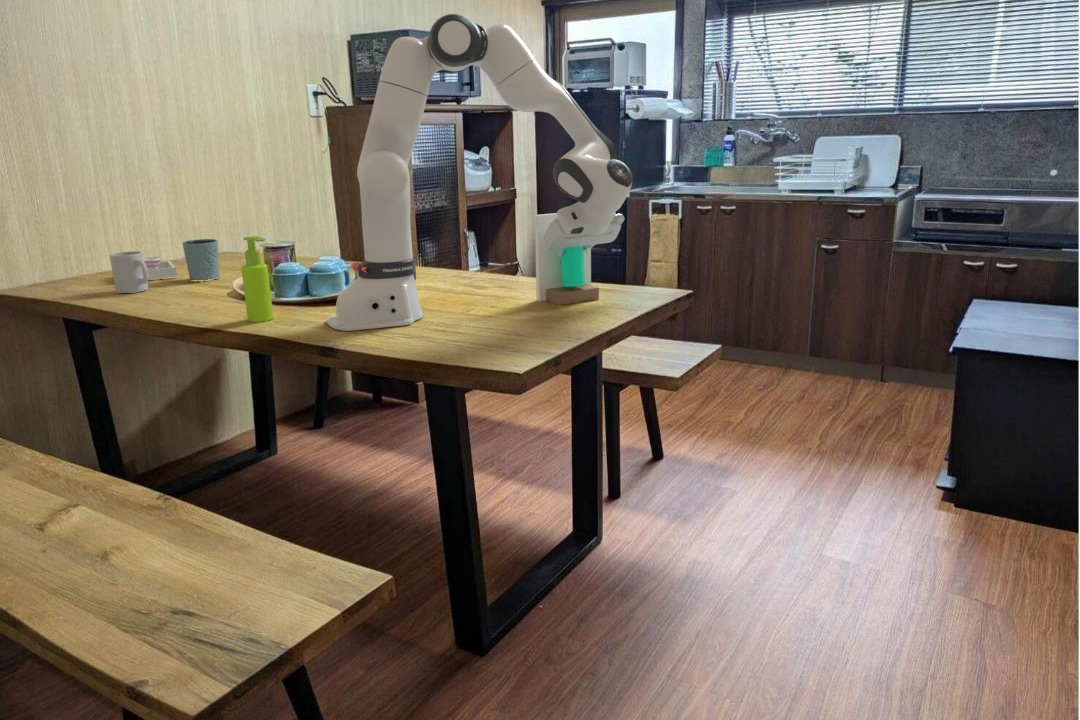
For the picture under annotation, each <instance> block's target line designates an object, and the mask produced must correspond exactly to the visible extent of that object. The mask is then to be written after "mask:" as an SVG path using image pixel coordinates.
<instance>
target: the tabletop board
mask: <svg viewBox="0 0 1080 720" xmlns="http://www.w3.org/2000/svg"><path fill="white" fill-rule="evenodd" d="M556 214H557V212H555V213H553V212H552V213H545V214H543V213H542V214H534V241H535V242H534V243H535V246H534V247H535V249H534V250H535V284H536V285H535V287H536V289H535V290H536V291H535V292H536V294H535V295H536V301H537V302H549V303H553V304H556V305H558V306H562V305H568V304H569V305H570V304H576V303H582V302H588V301H589V302H590V301H595V300H600V288H599V287H597V286H595V285H592V248H590V249H588V251H587V253H583V256H584V271H585V285H581V286H567V287H566V286H563V283H562V269H561V256H559V255H558V253H557V250H558V249H549V248H548V247H547V246H546V244H545V242H544V239H543V236H544V234H545V232H546V230H547V228H548V227H549V225H550V223H551V222H552V221H553V220H554V219H555V218H557V215H556Z"/></svg>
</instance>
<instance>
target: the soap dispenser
mask: <svg viewBox="0 0 1080 720" xmlns="http://www.w3.org/2000/svg"><path fill="white" fill-rule="evenodd" d="M243 241H246V242H247V243H246V244H247V249H246V250H245V251H244V258H245V264H244V265H241V267H240V269H241V271H240V272H241V278H242V284H243V292H244V300H245V308H246V316H247V317H246V318H247V320H248V321H247V322H249V321H250V322H249V323H263V322H262V321H266V322H269V321H268V320H270V321H272V320H271V319H273V318H274V311H273V302H272V293H271V286H270V276H269V269H268V265H267V264H265V263H262V258H261V257H262V256H261V251H260V250H259V249H257V247H256V242H257V243H258V242H265V241H266V239H265V238H264V237H261V236H256V235H253V236H247V237H246V236H245V237H243ZM273 320H274V319H273Z"/></svg>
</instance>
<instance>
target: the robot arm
mask: <svg viewBox="0 0 1080 720" xmlns="http://www.w3.org/2000/svg"><path fill="white" fill-rule="evenodd" d="M470 66H475V67H477V68H478V69H481V70H482V72H484V73H485V75H487V77H488V78H489V80H490V82H491V83H492V85H493V87H494V88H495V90H496V92H498V94H499V97H500V98H501V99H502V100H503V101H504V102H505V104H506V105H507V106H508V107H510V108H511V109H512V110H515V111H517V112H522V113H534V112H542V113H546V114H550V115H551V116H552V117H554V118H555V119H556V120H557V121H558V123H559V124H560V125H561V126H562V127H563V128H564V130H565V131H566V133H567V134H568V135H569V136H570V138H571V139H572V140H573V142H574V147H573V148H571V150H569V151H568V152H566V153H565V154H564V155H563V156H561V158H559V159H558V160H557V161H556V162H555V163H554V166H553V171H552V174H553V179H554V182H555V184H556V186H557V187H558V189H559V190H560V191H562V192H563V193H564V194H565V195H567V196H569V197H570V198H572V199H573V200H575V201H577V202H576V203H573V204H571V205H568V206H566V207H563V208H562V207H561V208H560V209H558V210H557V212H556V213H557V214H556V215H557V218H555V219H554V220H553V221H552V222H551V223H550V225H549V227H548V228H547V230H546V232H545V234H544V236H543V239H544V242H545V244H546V246H547V247H548V248H549V249H558V250H557V253H558V255H559V256H563V254H564V253H565V251H564V249H565V248H567V247H576V246H583V253H587V251H588V249H590V248H591V249H592V248H593V247H594V246H596V245H601V244H609V243H612V242H614V241H615V240H616V239H617V237H618V235H619V233H620V231H621V228H622V224H623V222H624V221H625V216H624V215H623V214H622V213H616V212H617V211H618V210H620V208H622V205H624V203H625V201H626V199H627V197H628V195H629V193H630V191H631V188H632V185H633V174H632V172H631V170H630V168H629V167H628V165H626V163H624V162H623V161H621V160H619V159H618V155H617V154H618V153H617V151H616V148H615V145H614V143H613V142H612V141H611V140H610V138H608V136H606V135H605V134H604V133H603V132H602V131H601V130H599V129H598V127H596V125H595V124H594V123H593V122H592V121H591V119H590V118H589V117H588V115H587V114H586V113H585V111H584V110H583V109H582V108H581V106H580V105H579V104H578V102H577V101H576V100H575V99H574V97H573V96H572V95H571V94H570V92H568V90H567V88H565V87H564V86H563V85H562V84H561V83H560V82H559V81H557V80H555V79H553V78H552V77H551V76H549V74H548V73H547V72H546V71H545V70H544V69H543V68H542V66H541V65H540V63H539V62H538V60H537V59H536V57H535V56H534V54H533V53H532V51H531V50H530V48H529V47H528V46H527V44H526V43H525V42H524V41H523V39H522V38H521V37H520V36H519V35H518V33H517V32H515V30H514V29H513V28H512V27H511V26H510V25H508V24H505V23H497V24H493V25H491V26H488V27H487V28H486V29H485V27H484V26H482V25H480V24H479V23H477V22H474V21H472V20H471V19H469V18H468V17H465V16H463V15H461V14H457V13H449V14H446V15H445V14H444V15H443V16H442V15H441V16H440V17H439V18H437V20H436V21H435V22H434V23H433V25H432V26H431V28H430V31H429V34H428V35H427V36H426V37H424V38H417V37H413V36H401V37H398V38H396V39H395V40H394V41H393V43H392V44H391V46H390V48H389V50H388V53H387V55H386V57H385V60H384V63H383V66H382V68H381V73H380V76H379V80H378V84H377V88H376V93H375V96H374V101H373V104H372V109H371V114H370V118H369V121H368V125H367V129H366V132H365V137H364V141H363V144H362V149H361V153H360V155H359V160H358V164H357V169H356V176H357V180H358V183H359V192H360V207H361V208H360V209H361V227H362V238H363V239H362V240H363V249H364V260H363V261H362V262H357V261H353V262H352V263H351V264H350V268H351V269H352V270H353V271H355V272H357V274H358V277H357V278H356V279H355V280H354V281H353V282H352V283H351V284H349V286H347V287H346V288H345V289H344V290H343V291H342V292H341V293H339V294H338V296H337V298H336V305H335V315H334V314H333V315H329V316H328V317H327V319H326V323H327V325H328V326H329V327H330V328H332V329H334V330H339V331H344V332H350V331H360V330H370V329H381V328H391V327H400V326H409V325H412V324H413V323H414V322H415V321H418V320H420V319H422V318H423V317H424V313H423V310H422V307H421V304H420V300H419V296H418V291H417V285H416V280H417V268H416V261H415V258H414V257H413V244H412V229H411V181H410V180H411V177H410V171H409V170H410V169H409V164H410V160H411V156H412V152H413V150H414V147H415V143H416V141H417V138H418V136H419V133H420V128H421V124H422V121H423V116H424V113H425V108H426V104H427V100H428V96H429V91H430V88H431V84H432V81H433V78H434V76H435V74H456V73H461V72H463V71H465V70H466V69H468V68H469V67H470Z"/></svg>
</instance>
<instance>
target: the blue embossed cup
mask: <svg viewBox="0 0 1080 720" xmlns="http://www.w3.org/2000/svg"><path fill="white" fill-rule="evenodd" d="M182 247H183V252H184V258H185V261H186V267H187V271H188V276H189V281H190V280H208V279H213V278H217V277H219V276H221V275H220V263H219V262H220V259H219V258H220V256H219V242H218V240H217V239H213V238H212V239H211V238H203V239H189V240H184V241H182Z"/></svg>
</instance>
